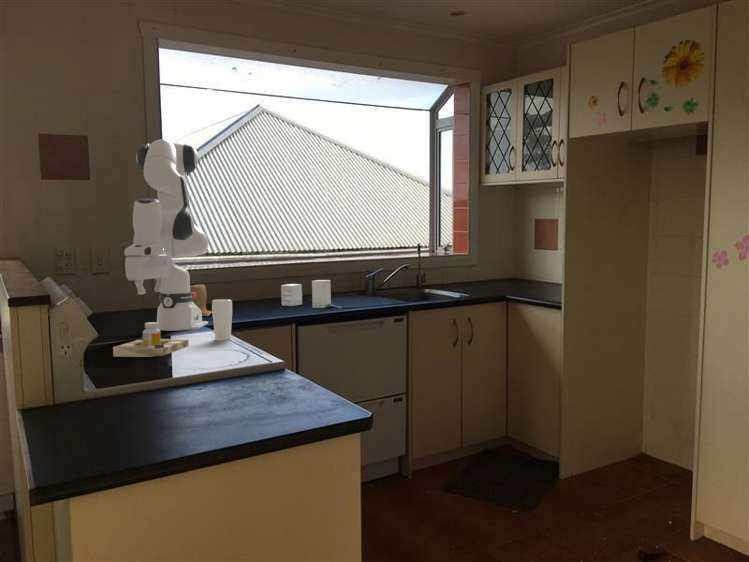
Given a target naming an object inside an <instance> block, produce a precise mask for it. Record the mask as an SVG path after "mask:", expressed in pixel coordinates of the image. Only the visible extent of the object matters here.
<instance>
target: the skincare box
mask: <svg viewBox="0 0 749 562" xmlns="http://www.w3.org/2000/svg"><path fill="white" fill-rule="evenodd" d="M331 289H332V287H331V280H330V279H316V280H311V293H312V295H311V297H312V298H311V299H312V301H311V302H312V303H311V304H312V306H311V307H312V309H325V308H328V307H331V306H332V299H331V297H332V294H331Z"/></svg>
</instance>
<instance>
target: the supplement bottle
mask: <svg viewBox="0 0 749 562" xmlns="http://www.w3.org/2000/svg"><path fill="white" fill-rule="evenodd" d="M157 327H158V323H157V321H156V322H155V321H152V322H150V321H149V322H148V321H147V322H145V323H144V328H145V329H144V330H143V331H142V336H143V346H155V344H161V339H162V337H161V330H159V329H157Z"/></svg>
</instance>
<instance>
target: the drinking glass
mask: <svg viewBox="0 0 749 562" xmlns="http://www.w3.org/2000/svg"><path fill="white" fill-rule="evenodd" d="M211 311H212V314H211V315H212V321H213V331H214V340H215V341H219V342H220V341H221V342H222V341H229V340H231V339H232V320H233V300H232V299H229V298H227V299H223V298H221V299H213V300H211Z"/></svg>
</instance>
